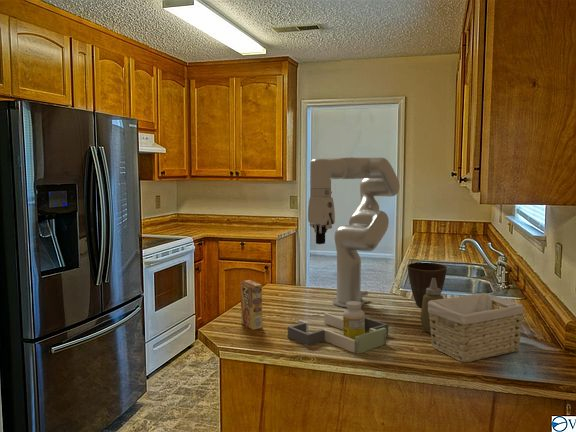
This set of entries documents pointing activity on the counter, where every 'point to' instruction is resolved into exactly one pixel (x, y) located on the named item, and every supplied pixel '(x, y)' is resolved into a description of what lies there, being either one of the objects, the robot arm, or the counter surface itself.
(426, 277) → the plant pot
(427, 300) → the squeeze bottle
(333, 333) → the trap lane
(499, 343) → the storage basket
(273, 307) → the counter surface
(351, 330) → the supplement bottle
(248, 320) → the candy box
